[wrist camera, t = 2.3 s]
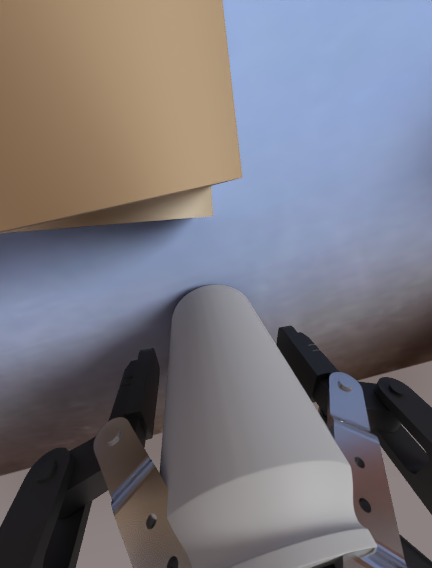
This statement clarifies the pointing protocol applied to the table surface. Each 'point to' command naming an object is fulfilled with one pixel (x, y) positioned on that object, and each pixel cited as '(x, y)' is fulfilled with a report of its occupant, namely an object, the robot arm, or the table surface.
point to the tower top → (111, 105)
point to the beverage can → (248, 447)
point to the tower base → (140, 211)
